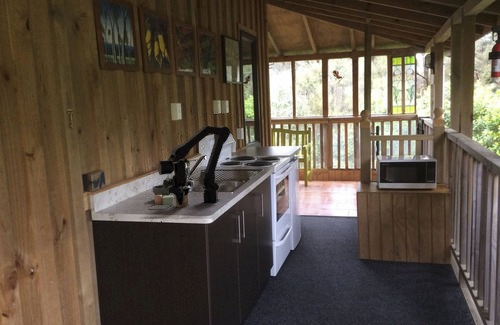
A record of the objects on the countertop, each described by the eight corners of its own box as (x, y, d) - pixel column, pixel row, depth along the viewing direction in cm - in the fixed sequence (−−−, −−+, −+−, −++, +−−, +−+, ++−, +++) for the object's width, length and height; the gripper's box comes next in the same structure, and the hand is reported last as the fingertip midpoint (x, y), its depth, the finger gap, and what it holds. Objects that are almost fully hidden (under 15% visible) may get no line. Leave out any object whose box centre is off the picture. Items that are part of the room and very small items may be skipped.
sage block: (174, 202, 231) (173, 195, 230) (173, 204, 226) (172, 197, 225) (164, 203, 231) (163, 195, 230) (163, 205, 226) (162, 197, 225)
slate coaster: (170, 206, 223) (170, 204, 223) (164, 209, 215) (164, 208, 215) (155, 206, 224) (155, 204, 224) (148, 209, 217) (148, 208, 217)
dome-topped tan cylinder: (164, 203, 230) (163, 194, 230) (161, 204, 226) (160, 195, 226) (156, 203, 231) (156, 194, 231) (153, 204, 227) (153, 196, 227)
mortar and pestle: (149, 200, 239) (148, 178, 237) (161, 196, 247) (160, 175, 245) (166, 201, 233) (164, 179, 231) (177, 198, 241) (176, 176, 239)
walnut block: (188, 204, 224) (187, 195, 223) (185, 207, 219) (184, 197, 219) (179, 204, 225) (179, 195, 224) (176, 207, 220) (175, 197, 220)
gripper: (171, 169, 230) (173, 199, 233) (157, 175, 212) (159, 208, 214) (192, 169, 228) (194, 199, 230) (179, 175, 210) (181, 208, 212)
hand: (182, 203), depth 222 cm, fingers closed on walnut block, 4 cm apart
